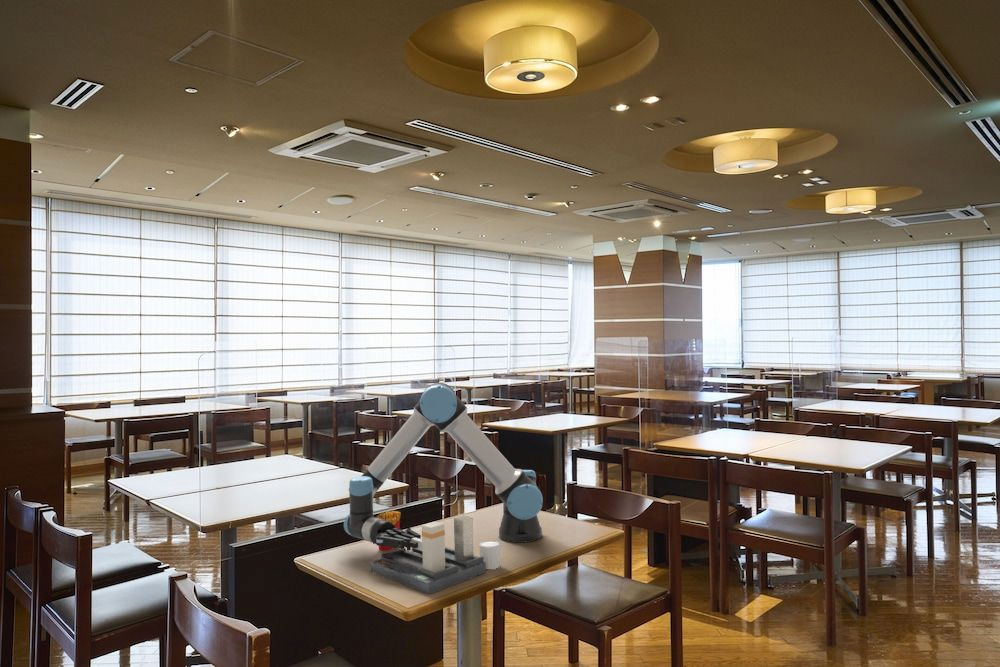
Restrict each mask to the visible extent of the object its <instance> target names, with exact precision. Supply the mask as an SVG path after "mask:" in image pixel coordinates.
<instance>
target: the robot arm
mask: <svg viewBox="0 0 1000 667" xmlns="http://www.w3.org/2000/svg"><path fill="white" fill-rule="evenodd" d="M433 426H435V427H436V429H438V430H439V431H440V432H441V433H442V432H443V433H448V435H449V436H450V437H451V438H452V439H453V440H454V442H455V443H456V444H457V445H458V446H459V448H461V449H462V451H464V452H465V454H466V455H467V456H468V457H469V458H470V459H471V461H472V462H473V463H474V464H475V465H476V466H477V467H478V468H479V469H480V471H481V472H482V473H483V474H484V475H485V477H487V479H489V481H490V482H491V483H492V484H493V486H494V488H495V495H496V496H497V498H499V499H500V501H501V502H502V504H503V506H502V509H503V512H502V518H501V522H500V527H499V528H498V537H499V539H501V540H502V539H504V540H503V541H505V540H508V541H507V542H510V541H515V542H514V543H529V542H533V541H534V542H535V541H537V540H539V538H540V539H541V538H542V537H543V529H542V526H541V525H540V521H539V518H538V514H539V512H541V510H542V508H543V502H544V501H543V500H544V499H543V493H542V492H541V491H542V490H540V488H539V487H538V486H537V482H536V481H537V476H536V472H535V471H534V470H533V469H521V468H515V467H514V466H513V465H512V464H511V463H510V461H509V460H508V459H507V458H506V457H505V456H504V455H503V454H502V453H501V452H500V450H499V449H498V448H497V446H496V445H494V444H493V442H492V441H491V440H490V439H489V437H487V436H486V434H485V433H484V432H483V431H482V430H481V429H480V428H479V426H478V425H477V424H476V423H475V422H474V421H473V419H472V418H470V416H469V415H468V407H467V406H466V404H464V403H463V401H462V400H461V399H460V398H459V397H458V396H457V395H456V393H455V391H454V389H453V388H452V387H451V386H450V385H448V384H447V383H444V382H435V383H432V384H430V385H428V386H427V387H426V388H425V389H424V390H423V392H422V394H421V397H420V398H419V400H418V402H417V403H416V405H414V407H413V413H412V414H411V415H410V416H409V418H408V419H407V420H406V421H405V422H404V423H403V425H402V426H401V428H400V429H399V430H398V431H397V432H396V433H395V435H394V436H393V437H392V438H391V439H390V441H389V442H388V443H387V444H386V446H384V447H383V449H382V450H381V451H380V453H379V454H378V455H377V456H376V458H375V459H374V460H373V461H372V462H371V463H370V465H369V466H368V467H367V469H366V470H365V471H364V472H363V474H362V475H359V476H355V477H352V478H351V479H350V480H349V484H348V485H349V487H348V493H349V514H348V515H347V516H346V517H345V520H344V522H343V529H344V531H345V532H346V533H347V535H350V536H351V537H353V538H357V539H359V540H360V539H361V540H363V541H367V542H369V543H372V544H373V545H376V546H379V545H380V546H389V547H394V548H396V549H404V548H406V550H407V551H408V550H411V549H412V548H414V549H417V550H420V551H422V534H420V533H418V532H416V531H414V530H412V529H411V528H410V527H407V528H406V529H405V530H402V529H400V528H399V529H398V528H395V526H394V525H393V523H391V522H388V521H385V520H382V519H379V518H377V517H374V496H375V494H376V493H377V492H378V491H379V489H380V488H381V487H382V486H383V485H384V483H385V482H386V481H387V479H388V478H389V477H390V476H391V475H392V473H393V472H394V471H395V470H396V469H397V467H399V466H400V464H401V463H402V462H403V461H404V459H405V458H406V457H407V455H408V454H409V453H410V452H411V451H412V449H413V448H414V447H415V446H416V445H417V444H418V442H419V441H420V440H421V438H422V437H424V435H425V433H426V432H428V431H429V429H430V428H431V427H433ZM525 541H526V542H525ZM528 541H529V542H528Z"/></svg>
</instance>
